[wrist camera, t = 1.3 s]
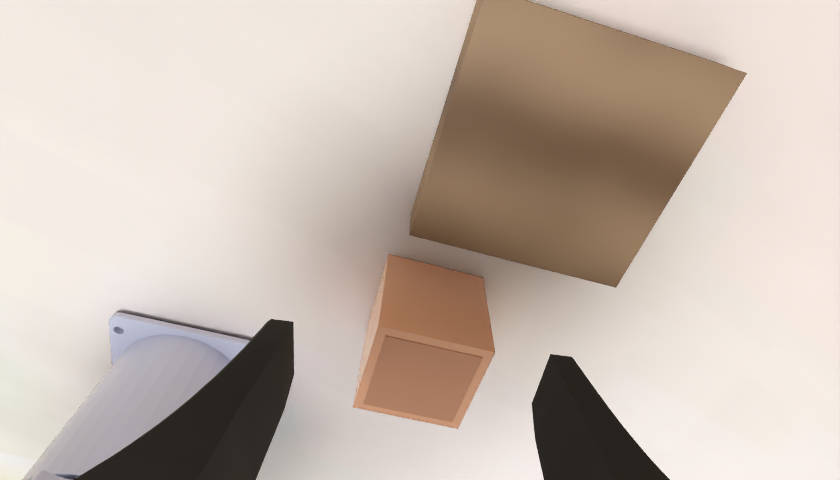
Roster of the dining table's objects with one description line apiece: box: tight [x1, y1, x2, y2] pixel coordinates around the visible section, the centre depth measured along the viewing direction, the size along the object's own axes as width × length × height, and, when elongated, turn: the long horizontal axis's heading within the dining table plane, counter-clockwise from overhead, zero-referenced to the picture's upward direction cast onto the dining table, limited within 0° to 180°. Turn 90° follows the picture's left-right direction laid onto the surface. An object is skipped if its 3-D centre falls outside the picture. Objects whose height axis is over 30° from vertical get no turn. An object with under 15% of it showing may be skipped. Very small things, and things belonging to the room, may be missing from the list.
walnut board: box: [409, 0, 747, 287], centre depth 20 cm, size 10×10×2 cm
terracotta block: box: [353, 254, 495, 429], centre depth 23 cm, size 5×5×6 cm
